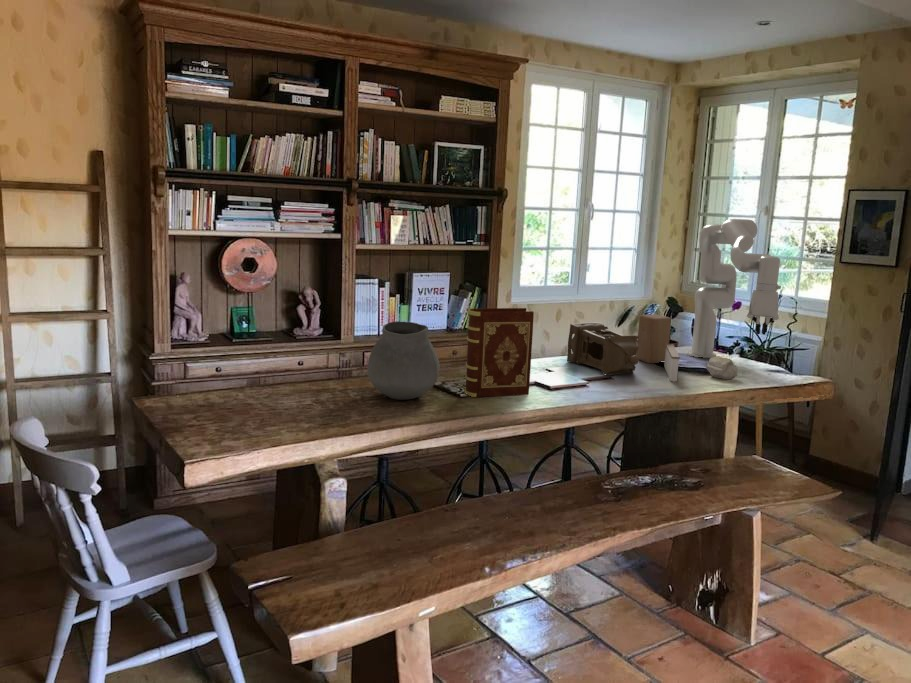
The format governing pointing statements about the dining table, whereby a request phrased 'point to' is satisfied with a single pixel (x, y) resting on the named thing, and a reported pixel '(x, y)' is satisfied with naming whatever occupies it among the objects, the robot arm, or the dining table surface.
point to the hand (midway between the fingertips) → (760, 333)
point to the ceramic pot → (403, 361)
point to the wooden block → (653, 337)
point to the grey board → (671, 362)
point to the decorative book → (499, 351)
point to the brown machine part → (602, 348)
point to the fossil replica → (721, 368)
